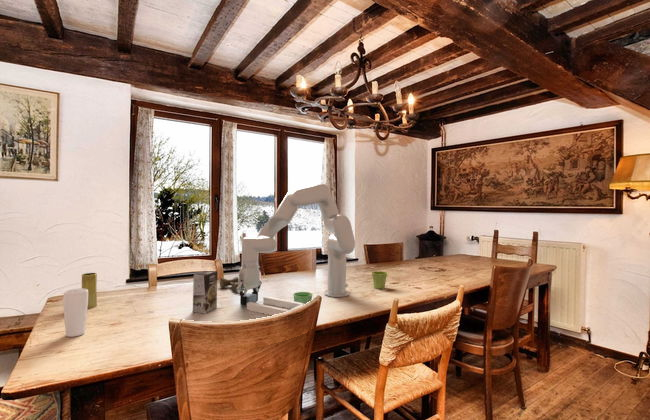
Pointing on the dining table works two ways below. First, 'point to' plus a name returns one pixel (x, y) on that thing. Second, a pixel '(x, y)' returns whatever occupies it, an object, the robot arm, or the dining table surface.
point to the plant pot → (379, 279)
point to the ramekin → (302, 297)
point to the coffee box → (205, 291)
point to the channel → (271, 309)
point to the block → (251, 298)
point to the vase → (90, 288)
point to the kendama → (229, 283)
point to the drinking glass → (75, 311)
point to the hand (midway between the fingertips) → (249, 302)
